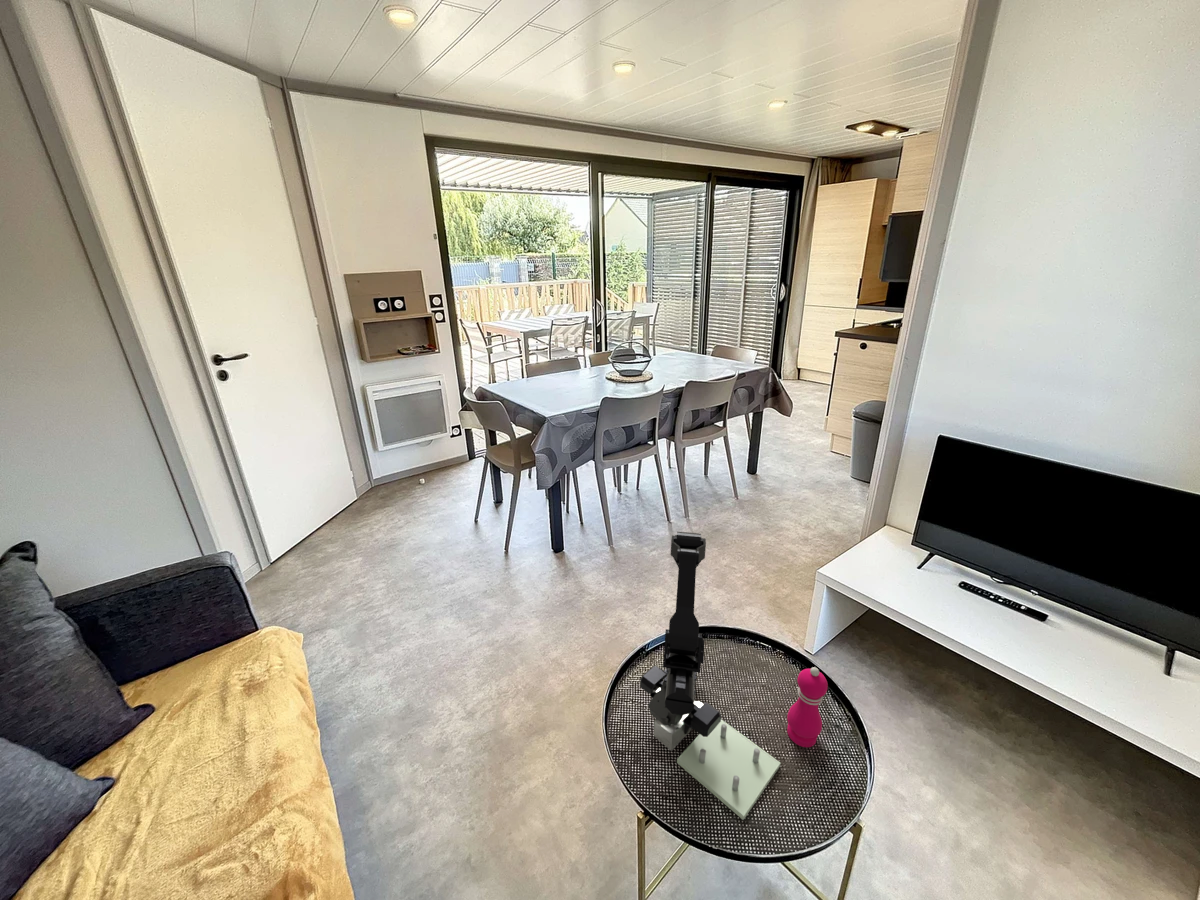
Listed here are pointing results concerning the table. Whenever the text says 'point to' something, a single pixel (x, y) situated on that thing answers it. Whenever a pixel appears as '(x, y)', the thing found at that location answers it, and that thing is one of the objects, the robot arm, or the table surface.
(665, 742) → the block
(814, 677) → the pepper mill
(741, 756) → the pale green peg board
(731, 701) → the table surface
